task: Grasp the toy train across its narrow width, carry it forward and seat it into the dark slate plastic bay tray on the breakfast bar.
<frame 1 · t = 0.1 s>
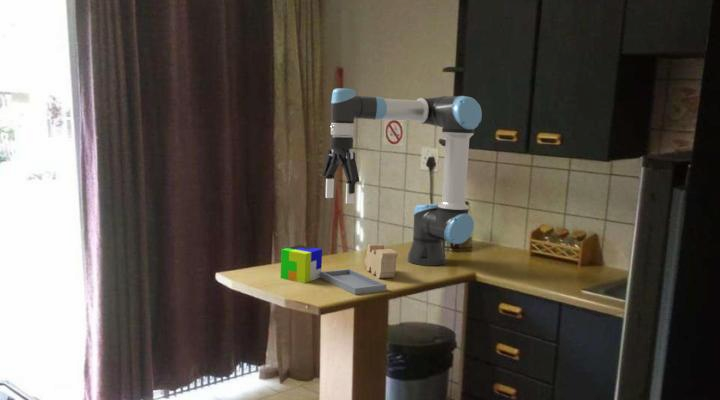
hand: (339, 200, 211), 28 cm above the breakfast bar, tool pointing down, fingers open, 13 cm apart
puzzle toy: (300, 278, 219), on the breakfast bar
toy train: (379, 275, 228), on the breakfast bar
bay tray: (352, 283, 213), on the breakfast bar
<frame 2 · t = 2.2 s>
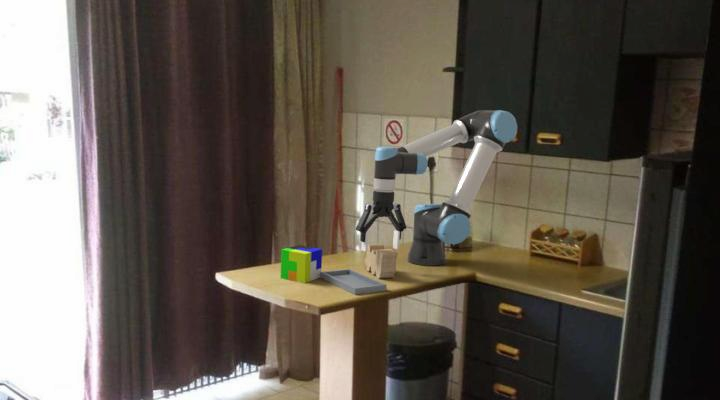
hand: (380, 249, 226), 9 cm above the breakfast bar, tool pointing down, fingers open, 13 cm apart
nothing on the breakfast bar moved.
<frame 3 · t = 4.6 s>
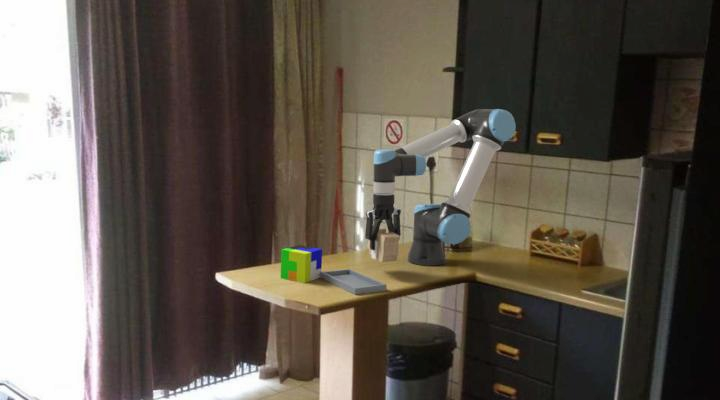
hand: (382, 257, 227), 6 cm above the breakfast bar, tool pointing down, fingers closed on toy train, 6 cm apart
toy train: (382, 259, 227), point 6 cm above the breakfast bar, touching gripper
everything else where it was.
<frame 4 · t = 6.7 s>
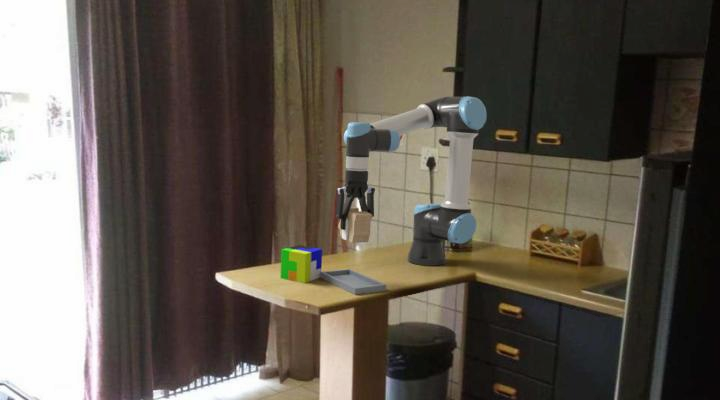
hand: (353, 238, 211), 15 cm above the breakfast bar, tool pointing down, fingers closed on toy train, 6 cm apart
toy train: (353, 240, 211), point 15 cm above the breakfast bar, touching gripper
everything else where it was.
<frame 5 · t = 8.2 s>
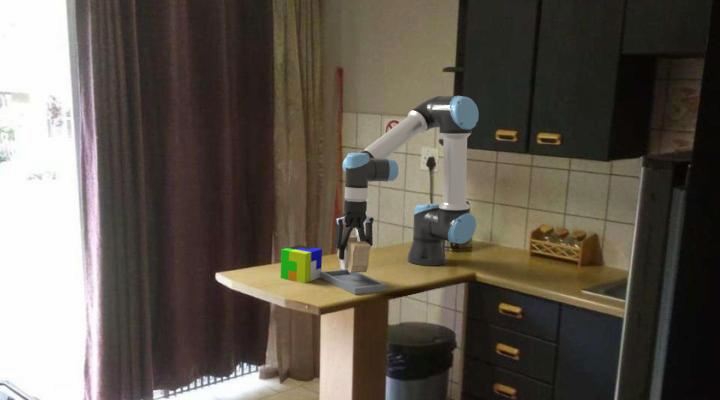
hand: (352, 267, 213), 5 cm above the breakfast bar, tool pointing down, fingers closed on toy train, 6 cm apart
toy train: (352, 269, 213), point 5 cm above the breakfast bar, touching gripper
everything else where it was.
when the fingers open (2 cm above the breakfast bar, at t = 9.3 s): toy train drops 1 cm, resting on bay tray.
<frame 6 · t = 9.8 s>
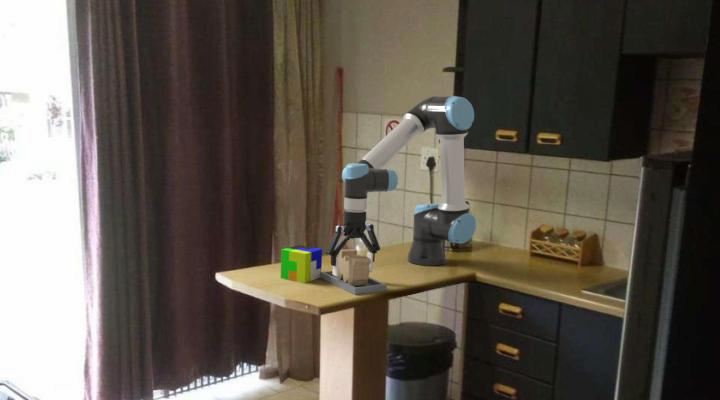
hand: (352, 273, 213), 4 cm above the breakfast bar, tool pointing down, fingers open, 13 cm apart
toy train: (352, 282, 213), resting on bay tray
everything else where it was.
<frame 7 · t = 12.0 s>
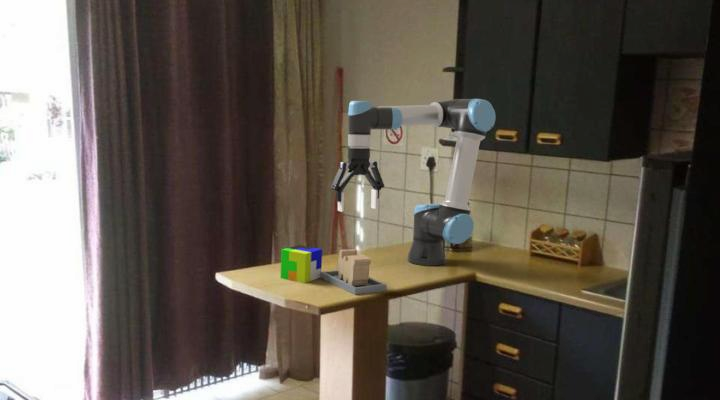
hand: (357, 209, 216), 24 cm above the breakfast bar, tool pointing down, fingers open, 13 cm apart
nothing on the breakfast bar moved.
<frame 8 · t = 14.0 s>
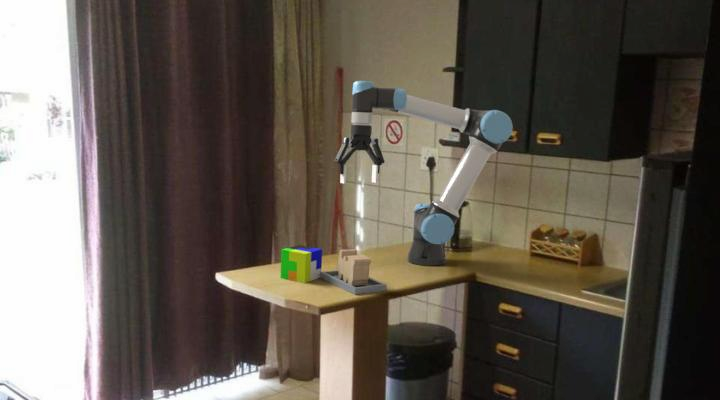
hand: (358, 183, 232), 32 cm above the breakfast bar, tool pointing down, fingers open, 13 cm apart
nothing on the breakfast bar moved.
at the end: toy train inside the target area on the bay tray (0.1 cm from its centre), point 0.3 cm above the bay tray's base; toy train tilted 0°; the gripper is holding nothing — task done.
